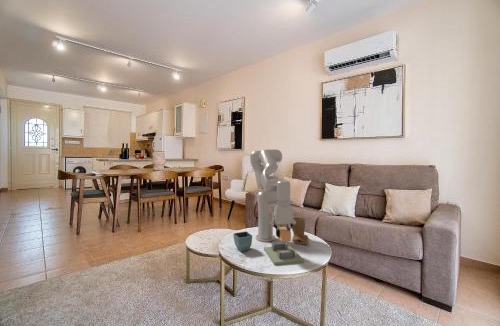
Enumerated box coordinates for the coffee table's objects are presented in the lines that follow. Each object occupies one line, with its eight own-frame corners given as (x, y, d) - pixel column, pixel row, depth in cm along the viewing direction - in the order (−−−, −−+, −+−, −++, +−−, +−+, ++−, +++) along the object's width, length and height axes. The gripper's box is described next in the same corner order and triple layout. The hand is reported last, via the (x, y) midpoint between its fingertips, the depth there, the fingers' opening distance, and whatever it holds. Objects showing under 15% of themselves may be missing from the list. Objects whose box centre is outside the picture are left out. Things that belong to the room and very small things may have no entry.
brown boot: (290, 236, 171) (291, 214, 170) (308, 237, 167) (309, 215, 167) (287, 244, 156) (288, 220, 155) (307, 246, 153) (307, 221, 152)
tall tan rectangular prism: (275, 235, 142) (275, 227, 142) (284, 235, 143) (284, 226, 143) (281, 241, 132) (281, 232, 132) (290, 241, 133) (290, 231, 133)
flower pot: (238, 253, 141) (238, 237, 141) (232, 248, 149) (233, 233, 149) (252, 251, 145) (252, 235, 144) (246, 245, 153) (246, 231, 152)
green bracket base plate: (263, 249, 146) (263, 242, 146) (289, 247, 150) (289, 240, 150) (274, 265, 127) (274, 256, 127) (303, 262, 130) (303, 253, 130)
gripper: (295, 201, 142) (295, 233, 143) (266, 202, 139) (266, 235, 139) (300, 203, 135) (300, 237, 136) (270, 205, 131) (270, 239, 132)
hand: (283, 235), depth 138 cm, fingers closed on tall tan rectangular prism, 5 cm apart
